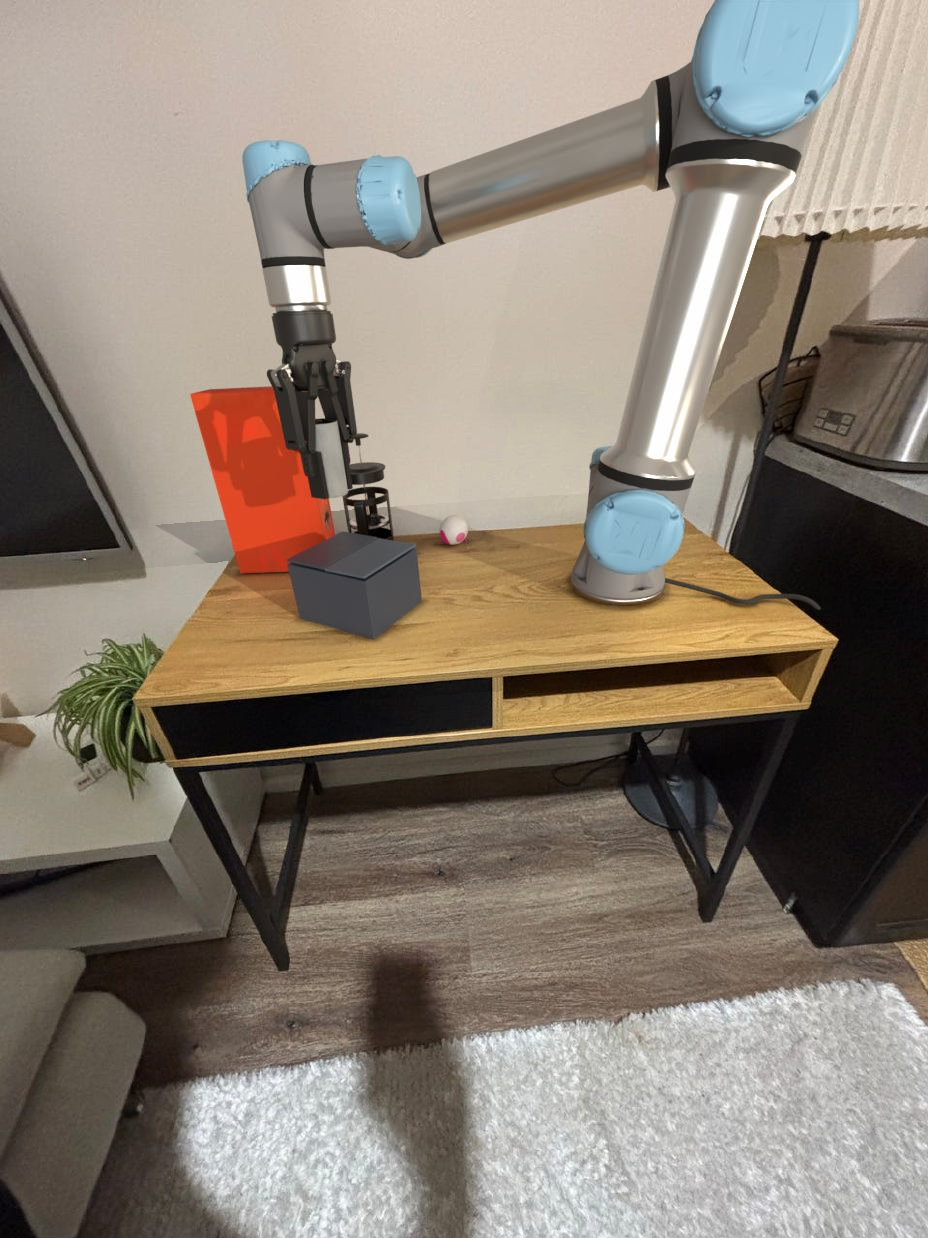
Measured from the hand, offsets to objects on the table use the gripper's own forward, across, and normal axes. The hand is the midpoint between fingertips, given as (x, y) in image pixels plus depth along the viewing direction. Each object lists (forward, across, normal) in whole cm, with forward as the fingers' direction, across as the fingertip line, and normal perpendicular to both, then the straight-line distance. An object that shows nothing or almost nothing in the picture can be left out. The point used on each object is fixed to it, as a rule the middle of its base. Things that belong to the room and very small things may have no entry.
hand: (332, 492), depth 76 cm
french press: (+19, -20, -11) cm, 30 cm away
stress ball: (+19, -30, +2) cm, 36 cm away
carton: (+19, +1, +3) cm, 19 cm away
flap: (+9, +1, +6) cm, 11 cm away
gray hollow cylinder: (0, 0, 0) cm, 0 cm away
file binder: (+19, -8, -22) cm, 31 cm away
